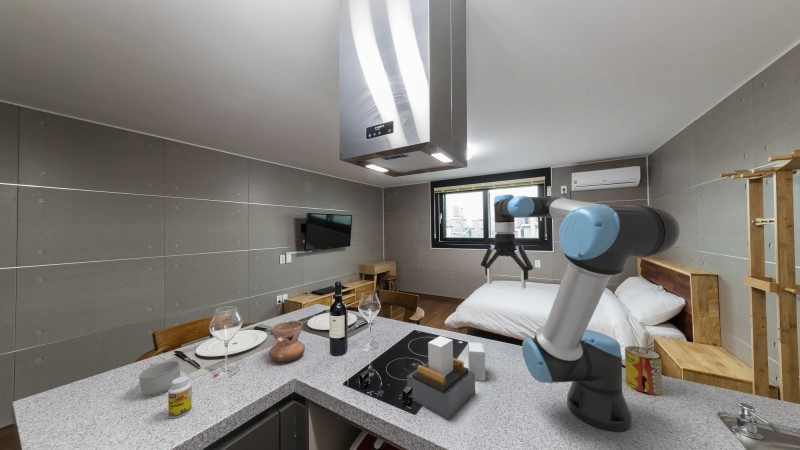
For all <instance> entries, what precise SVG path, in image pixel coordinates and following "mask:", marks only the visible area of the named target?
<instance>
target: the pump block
mask: <svg viewBox="0 0 800 450" xmlns="http://www.w3.org/2000/svg"><path fill="white" fill-rule="evenodd" d="M453 341H454V340H453V339H451V338H448V337H445V336H442V335H440V336H437V337H436V338H433V339H432V340H430V341H429V342H427V350H428V352H427V355H428V357H427V358H428V359H427V360H428V362H429V369H431V370H433V371H435V372H437V373H440V374H442V375H444V376H446V375H447V374H449V373H450V372H451V371H452V370H453V358H454V344H453V343H454V342H453ZM428 362H427V363H428Z"/></svg>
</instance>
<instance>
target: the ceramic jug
mask: <svg viewBox="0 0 800 450" xmlns="http://www.w3.org/2000/svg"><path fill="white" fill-rule="evenodd" d="M302 329H303V322H302V321H300V320H284V321H281V322H278V323H275V324H274V325H272V327H271V331H272V334H273V337H274V340H275V342H276V344H274V345H273V346H272V347H271V348H270V350H269V351H268V356H269V358H270V359H271V360H272V361H274V362H278V363H287V362H292V361H294V360H296V359H298V358H299V357H302V355H303V354H304V352H305V350H306V346H305V344H304V343H303V342H302V341H300V340H298V339H299V337H300V334H301V332H302Z"/></svg>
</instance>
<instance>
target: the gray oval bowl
mask: <svg viewBox="0 0 800 450" xmlns="http://www.w3.org/2000/svg"><path fill="white" fill-rule="evenodd" d="M179 377H181V362H180V360H175V359H174V360H173V359H172V360H167V361H162V362H159V363H157V362H154V363H151V364H150V365H149V366H148V367H147V368H145V369H144V370H142V371H141V372H140V373H138V379H139V388H140V390H141V393H143V395H145V396H146V395H148V396H152V395H154V396H156V395H155V394H159V395H161V394H160V393H162V394H164V393H166V391H167V392H168V391H169V389H170V388H171V387H172V381H173V380H175V379H176V378H179ZM163 392H164V393H163Z"/></svg>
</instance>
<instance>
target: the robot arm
mask: <svg viewBox="0 0 800 450" xmlns="http://www.w3.org/2000/svg"><path fill="white" fill-rule="evenodd" d="M493 198H494V200H493V201H494V203H493V206H494V207H493V210H494V233H495V234H494V240H495V241H494V243H495V244H494V245H493V244H488V245H487V248H486V249H487V250H486V252H485V254H484V256H483V258H482V260H481V263H480V266H481V267H484V273H485V276H487V278H486V279H487V285H491V284H493V275H492V274H493V272H492V271H493V268H492V267H491V266H492V265H493V263H494V262H496V261H497V259H498V258H499V257H510V258H512V260H513V261H514V262H515V263H516V264H517V265H518V267H519V268H520V269H521V270H522V271H520V272H521V273H520V280H521V282H520V283H521V289H522V290H524V289H526V288H527V285H526V284H527V282H526V281H528V279H529V271H533V270H534V266H533V264H532V262H531V261H530V258H529V257H528V255H527V253H526V252H525V246H524V245H517V244H516V234H515V232H516V230H515V228H516V226H515V218H516V219H518V218H523V219H524V218H551V219H553V220H557V221H562V222H561V224H560V225H559V231H558V238H559V241H558V244H559V247H560V249H561V251H562V252H563V256H564V259H565V260H566V261H567V266H566V268H565V271H564V273H563V276H562V279H561V282H560V284H559V287H558V289H557V293H556V296H555V298H554V300H553V303H552V305H551V309H550V311H549V314H548V317H547V320H546V322H545V325H541V326H540V327H538V328H537V329H536V332H535V334H534V337H533V338H530V337H528V338H525V339H523V341H522V344H521V345H522V346H521V351H522V355H523V360H524V363H525V365H526V367H527V370H528V371H529V373H530V376H532V377H533V378H534V379H535V380H536V381H538V382H539V383H542V384H543V383H544V384H545V383H547V384H548V383H549V384H555V383H556V384H557V383H570V382H571V384H570V387H569V390H568V392H567V396H566V403H567V407H568V409H569V410H570V412H571V413H572V415H573V414H574V415H575V416H576V417H577V418H578V419H579V420H581V421H582V422H584V423H587V424H588V425H590V426H593V427H594V428H598V429H601V430H605V431H609V432H626V431H629V429H630V428H631V427H632V414H631V411H630V409H629V405H628V404H627V401H626V399H625V396H624V394H623V361H622V360H623V355H622V351H621V350H622V349H621V343H619V342H618V340H616V339H615V338H613V337H611V336H609V335H608V334H605V333H602V332H600V331H599V332H598V331H595V330H591V329H587V328H588V326H589V324H590V322H591V319H592V318H593V316H594V313H595V312H596V311H595V310H596V309H597V307H598V305H599V302H600V300H601V298H602V296H603V294H604V292H605V290H606V287H607V285H608V283H609V281H610V278H612V277H616V276H620V275H622V273H623V272H624V269H625V268H626V266H627V263H629V259H635V258H636V259H638V258H650V257H656V256H658V255H662V254H665V253H666V252H668V251H669V250H670V249H672V248H673V247H674V246H675V245H676V243H677V242H678V239H679V237H680V230H681V229H680V225H679V222H678V221H677V219H676V218H675V216H674V215H673V214H672V213H670V211H667V210H666V209H664V208H661V207H658V206H654V205H648V204H643V205H642V204H638V205H637V204H636V205H633V204H627V205H609V204H608V205H607V204H601V203H594V202H588V201H582V200H575V199H568V198H567V197H565V196H557V195H555V196H554V195H553V196H542V197H541V196H534V197H533V196H527V195H521V196H520V195H518V196H514V195H513V194H499V195H495V197H493ZM493 250H495V252H494V254H493V255H492V256H491V254H492V253H493ZM516 250H517V252H518V253H519V255H520V257H521V258H522V260H521V258H520V257H519V255H518V254H517V253H516V252H515V251H516ZM490 256H491V258H490Z"/></svg>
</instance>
